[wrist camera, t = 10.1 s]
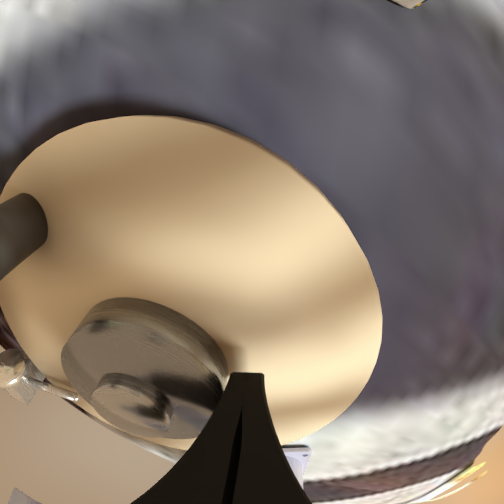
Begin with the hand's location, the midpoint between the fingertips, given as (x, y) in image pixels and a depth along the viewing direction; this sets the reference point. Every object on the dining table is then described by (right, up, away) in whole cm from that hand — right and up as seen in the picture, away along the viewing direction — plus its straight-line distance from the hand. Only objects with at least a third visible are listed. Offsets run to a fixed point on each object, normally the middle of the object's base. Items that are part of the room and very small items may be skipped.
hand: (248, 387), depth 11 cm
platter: (-4, +1, +3) cm, 5 cm away
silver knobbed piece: (-14, -1, +6) cm, 15 cm away
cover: (-4, 0, +1) cm, 5 cm away
